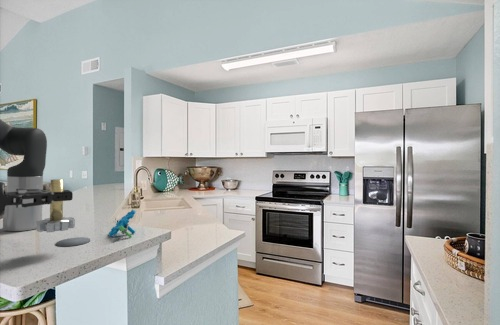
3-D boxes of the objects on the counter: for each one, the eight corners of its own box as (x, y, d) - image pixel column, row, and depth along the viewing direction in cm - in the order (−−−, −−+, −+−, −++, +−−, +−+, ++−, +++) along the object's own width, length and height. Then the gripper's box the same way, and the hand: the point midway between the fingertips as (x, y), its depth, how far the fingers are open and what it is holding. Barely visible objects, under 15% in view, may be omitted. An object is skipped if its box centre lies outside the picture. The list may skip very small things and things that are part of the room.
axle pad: (51, 247, 71) (51, 246, 71) (62, 239, 79) (62, 238, 79) (86, 245, 74) (86, 244, 74) (93, 237, 82) (93, 236, 82)
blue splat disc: (109, 226, 89) (133, 204, 90) (123, 237, 91) (146, 216, 92) (103, 240, 79) (130, 215, 80) (119, 252, 80) (145, 228, 82)
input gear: (30, 233, 63) (31, 180, 63) (44, 225, 70) (45, 178, 70) (68, 231, 65) (70, 181, 65) (78, 223, 73) (79, 178, 73)
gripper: (-28, 185, 53) (77, 182, 65) (-23, 180, 63) (66, 178, 75) (-28, 224, 53) (76, 214, 65) (-24, 212, 63) (65, 205, 75)
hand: (70, 195), depth 70 cm, fingers closed on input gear, 2 cm apart
